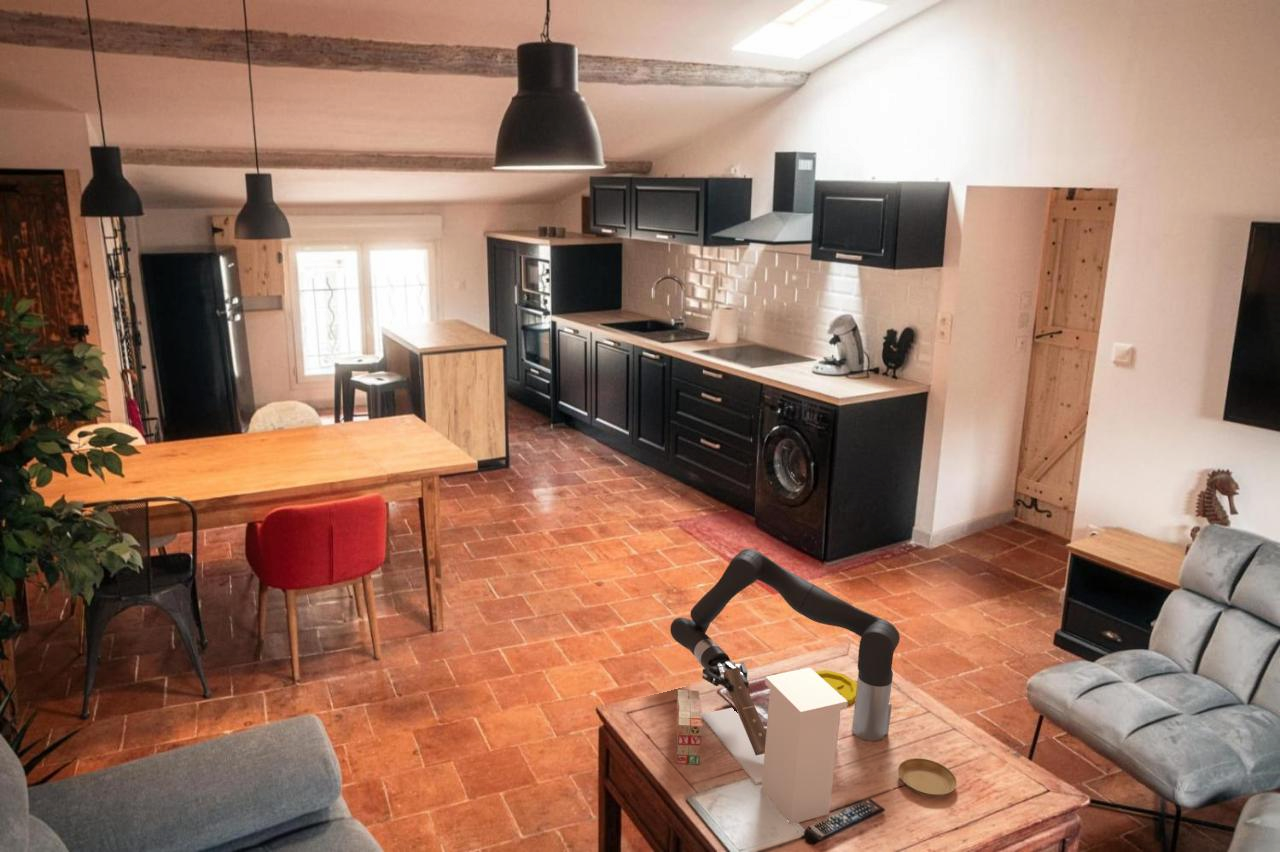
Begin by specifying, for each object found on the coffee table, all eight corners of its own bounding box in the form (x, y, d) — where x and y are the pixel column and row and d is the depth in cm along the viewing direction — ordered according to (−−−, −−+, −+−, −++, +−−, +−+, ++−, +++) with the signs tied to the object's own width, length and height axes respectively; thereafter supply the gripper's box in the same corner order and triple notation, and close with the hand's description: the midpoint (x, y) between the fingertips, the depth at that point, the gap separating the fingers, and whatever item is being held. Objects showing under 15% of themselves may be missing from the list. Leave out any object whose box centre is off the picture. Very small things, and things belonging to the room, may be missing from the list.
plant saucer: (885, 773, 237) (886, 764, 236) (929, 761, 243) (930, 752, 242) (922, 808, 224) (923, 800, 223) (968, 795, 230) (969, 786, 229)
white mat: (736, 708, 263) (736, 706, 263) (795, 774, 235) (795, 772, 235) (700, 716, 258) (700, 714, 258) (755, 784, 230) (756, 782, 230)
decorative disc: (792, 679, 280) (792, 673, 280) (843, 673, 284) (844, 668, 284) (815, 709, 264) (815, 703, 264) (868, 703, 269) (869, 697, 268)
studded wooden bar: (734, 672, 254) (738, 667, 252) (768, 752, 239) (772, 747, 237) (722, 675, 252) (725, 669, 250) (755, 755, 237) (759, 750, 235)
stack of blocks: (676, 717, 258) (678, 679, 254) (697, 718, 257) (700, 681, 254) (676, 764, 237) (678, 724, 234) (699, 765, 237) (702, 725, 233)
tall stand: (799, 776, 234) (810, 667, 225) (834, 815, 220) (847, 701, 211) (756, 787, 229) (765, 676, 220) (789, 828, 215) (800, 711, 206)
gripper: (690, 649, 259) (717, 680, 243) (733, 641, 264) (763, 671, 249) (688, 672, 261) (716, 704, 246) (731, 664, 266) (761, 694, 251)
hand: (739, 687), depth 247 cm, fingers closed on studded wooden bar, 4 cm apart
